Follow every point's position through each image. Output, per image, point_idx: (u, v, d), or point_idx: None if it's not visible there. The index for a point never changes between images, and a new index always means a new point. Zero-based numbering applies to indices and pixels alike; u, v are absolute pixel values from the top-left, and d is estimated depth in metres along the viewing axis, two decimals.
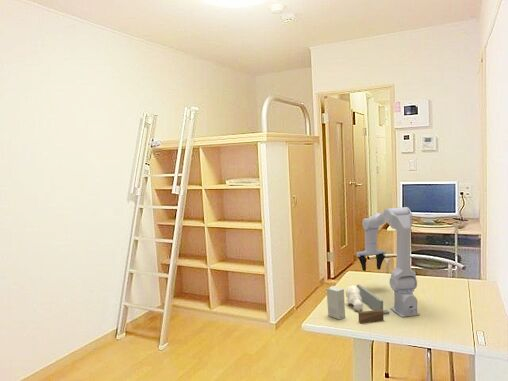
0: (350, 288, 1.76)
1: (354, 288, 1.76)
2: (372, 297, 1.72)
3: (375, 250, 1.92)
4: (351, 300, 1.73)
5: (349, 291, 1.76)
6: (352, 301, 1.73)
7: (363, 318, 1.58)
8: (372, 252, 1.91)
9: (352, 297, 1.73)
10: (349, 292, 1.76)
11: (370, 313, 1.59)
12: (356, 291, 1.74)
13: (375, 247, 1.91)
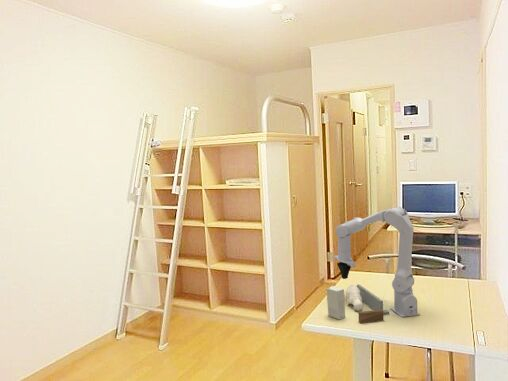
0: (350, 288, 1.76)
1: (354, 288, 1.76)
2: (372, 297, 1.72)
3: (340, 258, 1.82)
4: (351, 300, 1.73)
5: (349, 291, 1.76)
6: (352, 301, 1.73)
7: (363, 318, 1.58)
8: (338, 259, 1.84)
9: (352, 297, 1.73)
10: (349, 292, 1.76)
11: (370, 313, 1.59)
12: (356, 291, 1.74)
13: (340, 255, 1.82)
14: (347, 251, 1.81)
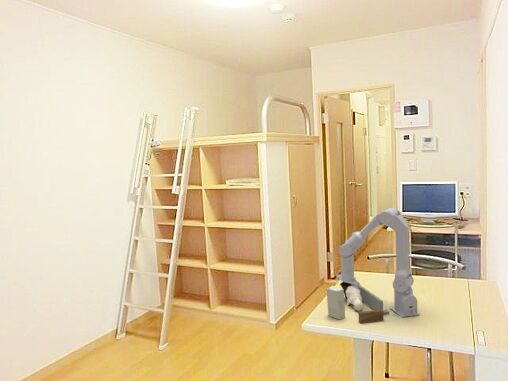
0: (350, 288, 1.76)
1: (354, 288, 1.75)
2: (372, 297, 1.72)
3: (344, 278, 1.80)
4: (351, 300, 1.73)
5: (349, 291, 1.76)
6: (352, 301, 1.72)
7: (363, 318, 1.58)
8: (341, 278, 1.81)
9: (352, 297, 1.73)
10: (349, 292, 1.75)
11: (370, 313, 1.59)
12: (356, 291, 1.74)
13: (344, 274, 1.80)
14: (351, 271, 1.79)
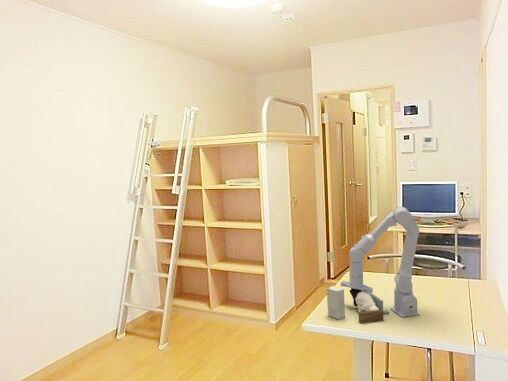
0: (362, 294, 1.68)
1: (367, 294, 1.67)
2: (372, 297, 1.72)
3: (354, 284, 1.70)
4: (366, 307, 1.64)
5: (362, 298, 1.67)
6: (368, 308, 1.64)
7: (363, 318, 1.58)
8: (351, 285, 1.71)
9: (367, 304, 1.65)
10: (362, 299, 1.67)
11: (370, 313, 1.59)
12: (370, 297, 1.66)
13: (354, 281, 1.70)
14: (361, 276, 1.70)
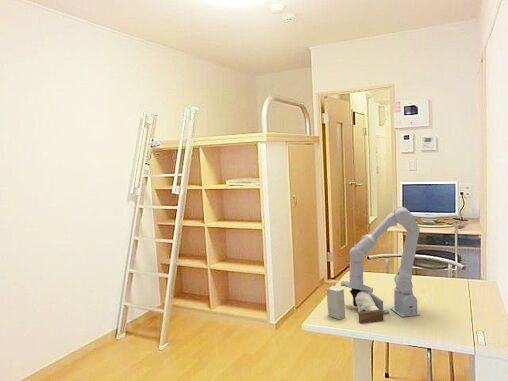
0: (362, 294, 1.68)
1: (366, 294, 1.67)
2: (372, 297, 1.72)
3: (355, 284, 1.70)
4: (366, 307, 1.64)
5: (362, 298, 1.67)
6: (368, 308, 1.64)
7: (363, 318, 1.58)
8: (351, 285, 1.71)
9: (367, 304, 1.65)
10: (362, 299, 1.67)
11: (370, 313, 1.59)
12: (370, 297, 1.66)
13: (355, 281, 1.70)
14: (362, 276, 1.70)
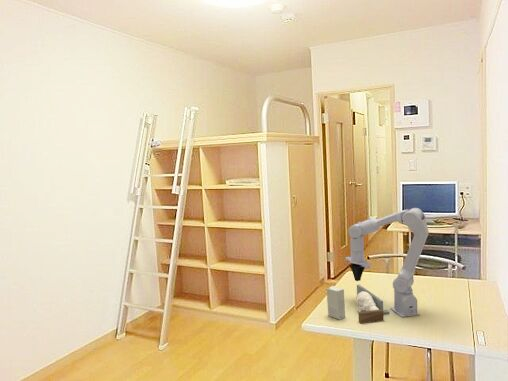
0: (363, 295, 1.68)
1: (367, 294, 1.68)
2: (372, 297, 1.72)
3: (353, 259, 1.76)
4: (367, 307, 1.65)
5: (362, 298, 1.67)
6: (368, 308, 1.64)
7: (363, 318, 1.58)
8: (351, 260, 1.78)
9: (367, 304, 1.65)
10: (362, 299, 1.67)
11: (370, 313, 1.59)
12: (370, 297, 1.66)
13: (353, 256, 1.76)
14: (361, 252, 1.75)
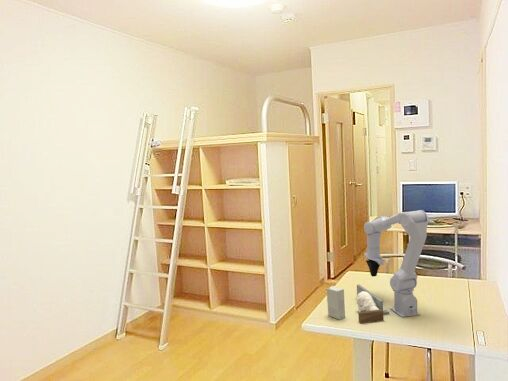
0: (363, 295, 1.68)
1: (367, 294, 1.68)
2: (372, 297, 1.72)
3: (369, 255, 1.82)
4: (367, 307, 1.65)
5: (362, 298, 1.67)
6: (368, 308, 1.64)
7: (363, 318, 1.58)
8: (367, 256, 1.84)
9: (367, 304, 1.65)
10: (362, 299, 1.67)
11: (370, 313, 1.59)
12: (370, 297, 1.66)
13: (369, 252, 1.82)
14: (376, 248, 1.80)
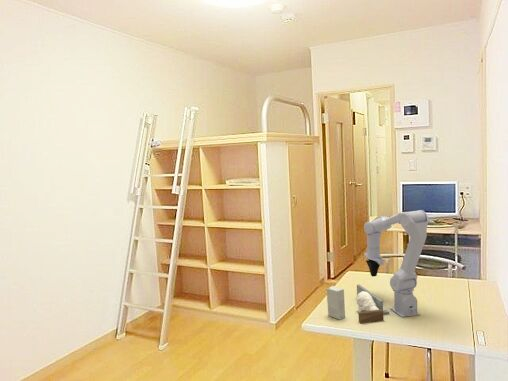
0: (363, 295, 1.68)
1: (367, 294, 1.68)
2: (372, 297, 1.72)
3: (369, 255, 1.82)
4: (367, 307, 1.65)
5: (362, 298, 1.67)
6: (368, 308, 1.64)
7: (363, 318, 1.58)
8: (367, 256, 1.84)
9: (367, 304, 1.65)
10: (362, 299, 1.67)
11: (370, 313, 1.59)
12: (370, 297, 1.66)
13: (369, 252, 1.82)
14: (376, 248, 1.80)
